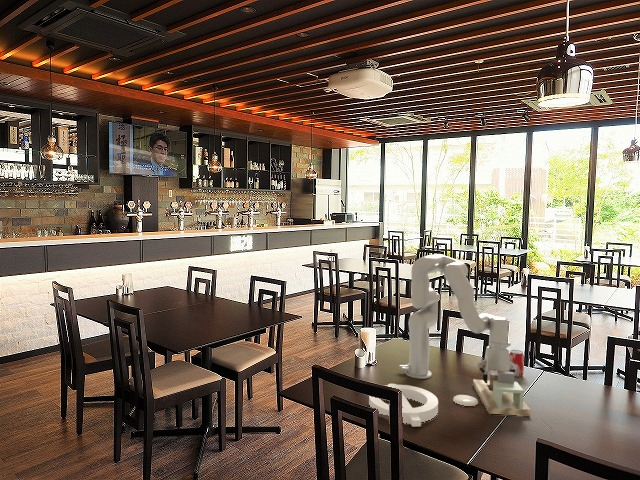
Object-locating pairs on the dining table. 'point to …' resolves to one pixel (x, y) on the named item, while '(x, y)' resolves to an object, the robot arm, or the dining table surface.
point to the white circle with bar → (409, 413)
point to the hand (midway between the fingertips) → (496, 382)
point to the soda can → (517, 362)
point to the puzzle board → (507, 401)
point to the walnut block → (493, 378)
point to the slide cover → (507, 389)
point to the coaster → (465, 400)
